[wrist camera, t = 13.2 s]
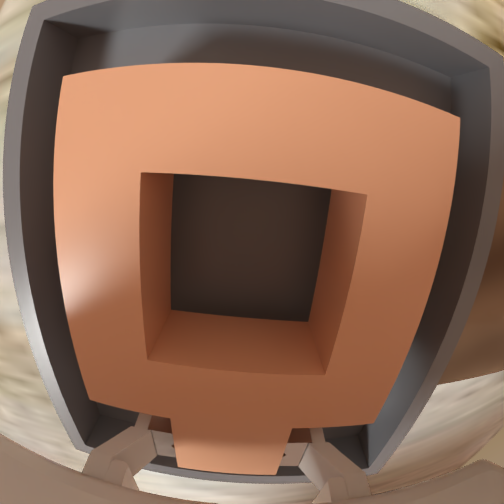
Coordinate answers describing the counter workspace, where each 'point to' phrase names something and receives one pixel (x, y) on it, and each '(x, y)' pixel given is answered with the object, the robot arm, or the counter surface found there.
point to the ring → (258, 168)
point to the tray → (252, 185)
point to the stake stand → (483, 319)
